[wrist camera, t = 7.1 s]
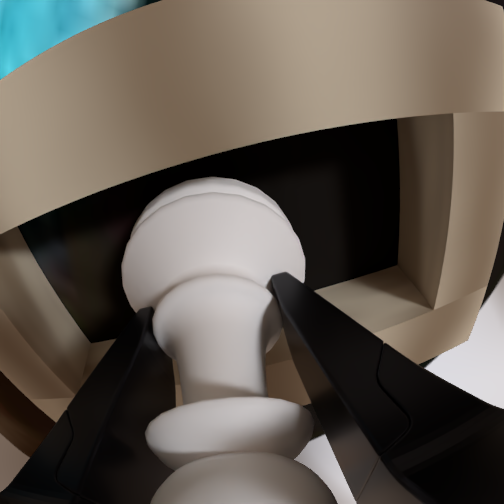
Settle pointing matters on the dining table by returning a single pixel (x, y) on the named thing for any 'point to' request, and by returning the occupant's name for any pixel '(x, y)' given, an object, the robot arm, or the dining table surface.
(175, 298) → the chess pawn
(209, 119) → the wooden rectangular frame
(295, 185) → the dining table surface
